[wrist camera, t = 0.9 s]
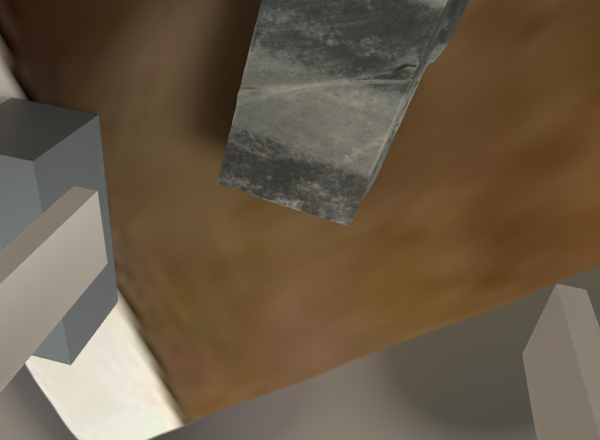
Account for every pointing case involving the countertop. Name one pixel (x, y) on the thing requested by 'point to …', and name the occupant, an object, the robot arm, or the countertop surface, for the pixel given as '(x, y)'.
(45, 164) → the block
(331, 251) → the countertop surface
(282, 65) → the stone block
